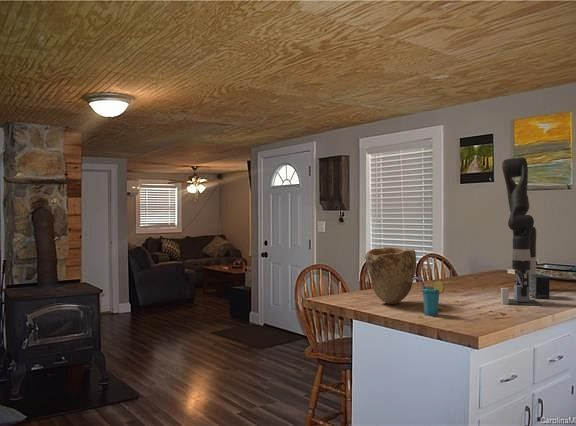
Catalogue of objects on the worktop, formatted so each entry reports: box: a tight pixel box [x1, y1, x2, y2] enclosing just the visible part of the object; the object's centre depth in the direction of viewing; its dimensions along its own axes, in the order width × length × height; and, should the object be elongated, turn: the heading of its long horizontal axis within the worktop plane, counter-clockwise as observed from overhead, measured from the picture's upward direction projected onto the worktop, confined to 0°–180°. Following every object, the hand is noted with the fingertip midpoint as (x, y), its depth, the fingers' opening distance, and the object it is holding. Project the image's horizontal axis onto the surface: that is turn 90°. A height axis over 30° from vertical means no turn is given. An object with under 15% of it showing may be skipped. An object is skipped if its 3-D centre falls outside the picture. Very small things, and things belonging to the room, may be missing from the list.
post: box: [500, 287, 510, 306], centre depth 227 cm, size 3×3×7 cm
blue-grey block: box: [513, 284, 530, 302], centre depth 229 cm, size 5×5×7 cm
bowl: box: [364, 246, 417, 305], centre depth 230 cm, size 22×22×25 cm
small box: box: [529, 274, 550, 300], centre depth 242 cm, size 11×6×10 cm, turn 168°
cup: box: [412, 276, 445, 317], centre depth 206 cm, size 14×8×15 cm, turn 53°
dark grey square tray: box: [508, 298, 544, 307], centre depth 229 cm, size 14×14×7 cm
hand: (521, 294), depth 229 cm, fingers open, 8 cm apart
